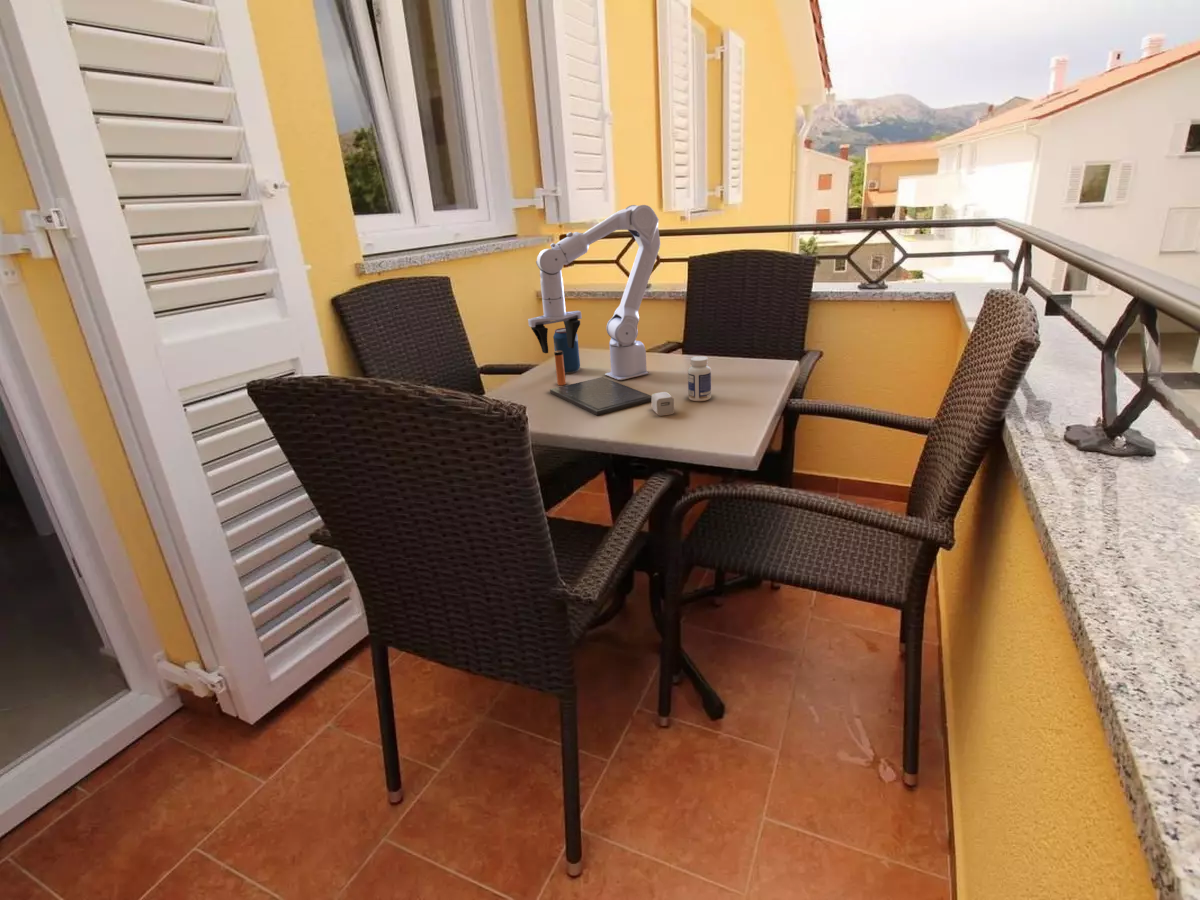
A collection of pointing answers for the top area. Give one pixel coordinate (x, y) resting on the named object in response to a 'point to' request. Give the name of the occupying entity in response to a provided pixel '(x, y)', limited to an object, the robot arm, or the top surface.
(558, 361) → the orange marker
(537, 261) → the robot arm
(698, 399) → the pill bottle
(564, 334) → the soda can
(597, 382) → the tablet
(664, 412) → the usb wall charger
